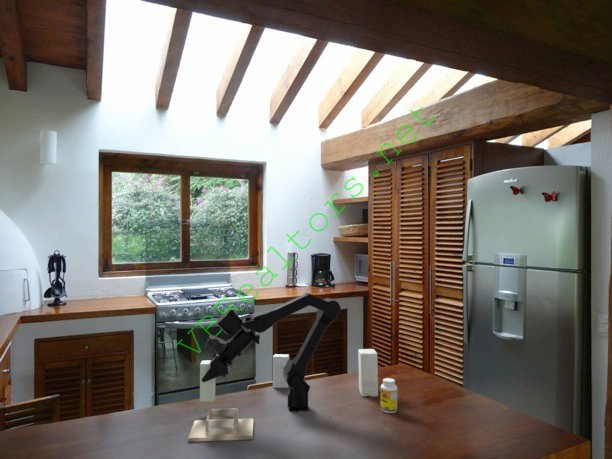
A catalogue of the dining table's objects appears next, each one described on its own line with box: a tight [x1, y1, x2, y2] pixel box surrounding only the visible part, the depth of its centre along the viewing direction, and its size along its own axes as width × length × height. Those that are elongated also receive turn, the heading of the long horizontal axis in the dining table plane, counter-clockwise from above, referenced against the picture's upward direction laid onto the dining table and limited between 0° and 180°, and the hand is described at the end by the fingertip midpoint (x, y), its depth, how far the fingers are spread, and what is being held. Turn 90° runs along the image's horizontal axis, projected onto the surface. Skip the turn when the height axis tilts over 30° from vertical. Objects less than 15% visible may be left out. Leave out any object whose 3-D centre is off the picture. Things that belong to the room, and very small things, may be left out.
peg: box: [199, 359, 216, 403], centre depth 140 cm, size 4×4×12 cm
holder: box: [187, 407, 254, 443], centre depth 128 cm, size 18×12×5 cm, turn 96°
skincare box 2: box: [357, 348, 379, 398], centre depth 161 cm, size 8×7×16 cm
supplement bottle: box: [380, 377, 398, 414], centre depth 144 cm, size 6×6×10 cm
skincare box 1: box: [272, 353, 290, 389], centre depth 167 cm, size 6×4×12 cm
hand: (203, 378), depth 140 cm, fingers closed on peg, 4 cm apart
